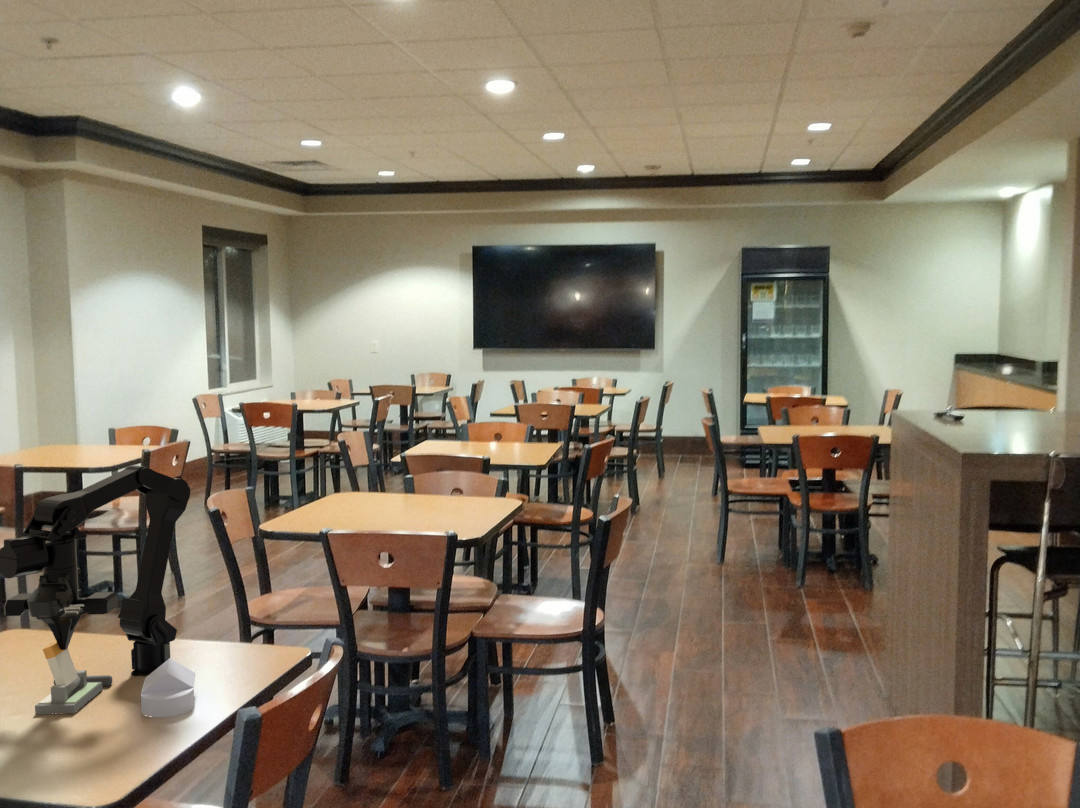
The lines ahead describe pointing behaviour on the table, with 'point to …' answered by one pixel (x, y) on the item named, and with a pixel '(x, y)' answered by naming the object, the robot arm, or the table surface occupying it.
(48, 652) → the lever
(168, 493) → the robot arm
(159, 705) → the wedge on round base
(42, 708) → the panel
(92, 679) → the grey double capsule
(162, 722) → the table surface
